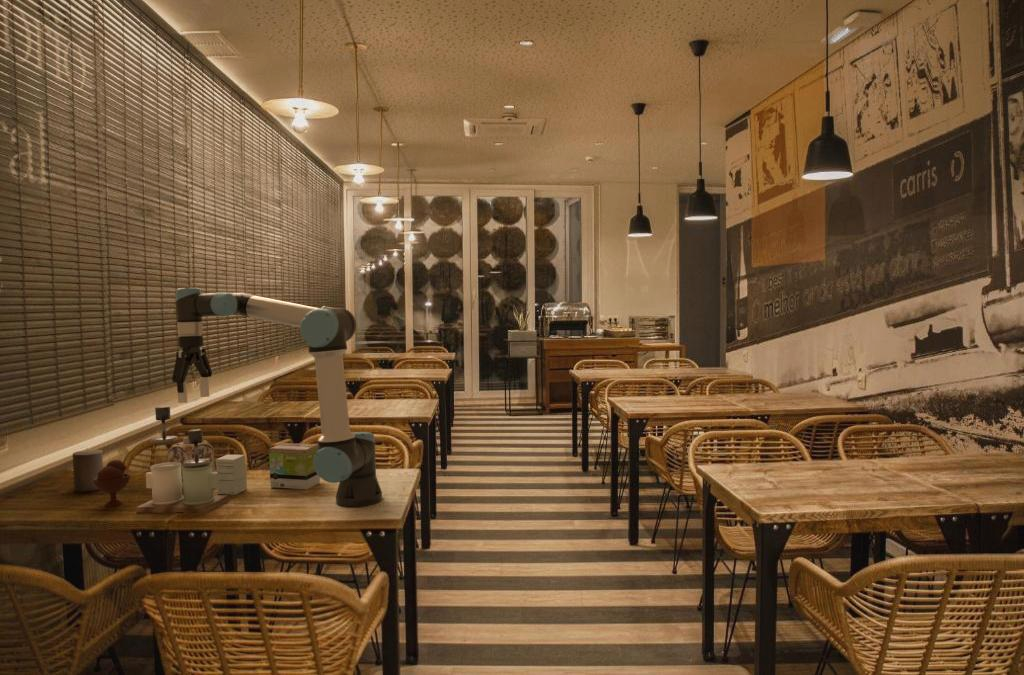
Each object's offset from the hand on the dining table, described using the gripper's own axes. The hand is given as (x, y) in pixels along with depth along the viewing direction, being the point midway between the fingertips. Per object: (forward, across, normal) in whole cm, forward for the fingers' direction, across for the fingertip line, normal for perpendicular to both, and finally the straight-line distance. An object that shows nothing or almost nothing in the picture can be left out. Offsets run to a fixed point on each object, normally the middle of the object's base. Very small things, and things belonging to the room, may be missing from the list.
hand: (194, 399), depth 240 cm
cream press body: (+34, 0, -11) cm, 36 cm away
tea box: (+36, -26, +22) cm, 50 cm away
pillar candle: (+36, -22, -55) cm, 70 cm away
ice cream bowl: (+36, -2, -32) cm, 48 cm away
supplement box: (+36, -18, +2) cm, 40 cm away
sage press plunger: (+21, 0, 0) cm, 21 cm away
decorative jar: (+36, -27, -18) cm, 48 cm away
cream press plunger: (+14, 0, -11) cm, 18 cm away
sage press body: (+34, 0, 0) cm, 34 cm away
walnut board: (+36, 0, -6) cm, 36 cm away
